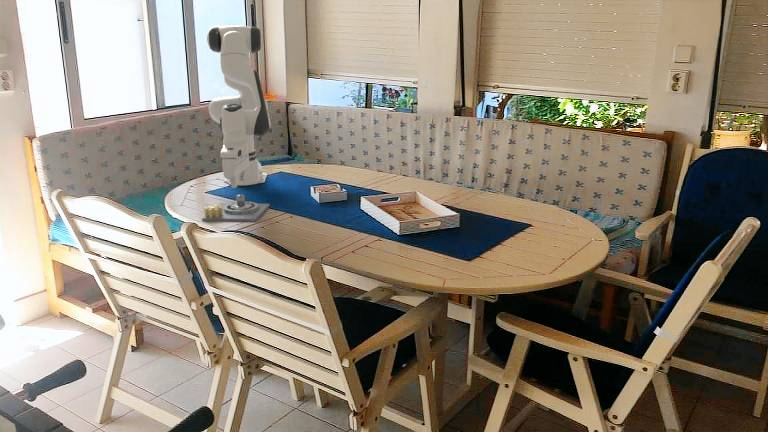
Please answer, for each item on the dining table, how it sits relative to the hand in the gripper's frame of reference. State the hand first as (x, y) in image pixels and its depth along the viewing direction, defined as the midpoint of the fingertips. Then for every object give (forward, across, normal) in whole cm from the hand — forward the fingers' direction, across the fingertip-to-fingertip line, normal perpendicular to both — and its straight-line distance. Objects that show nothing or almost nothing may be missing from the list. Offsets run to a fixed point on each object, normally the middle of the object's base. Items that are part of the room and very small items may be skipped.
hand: (238, 184), depth 241 cm
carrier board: (+11, +3, 0) cm, 11 cm away
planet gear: (+10, +1, +1) cm, 10 cm away
